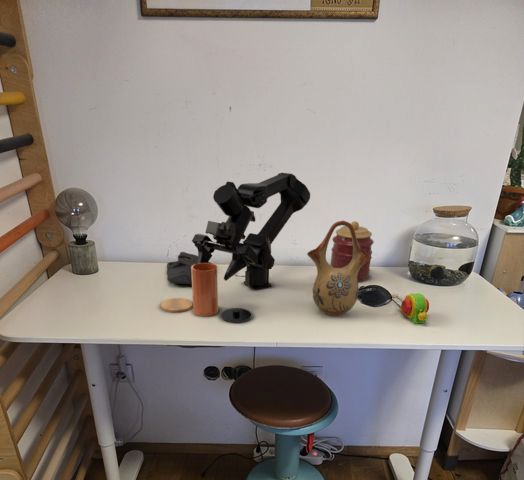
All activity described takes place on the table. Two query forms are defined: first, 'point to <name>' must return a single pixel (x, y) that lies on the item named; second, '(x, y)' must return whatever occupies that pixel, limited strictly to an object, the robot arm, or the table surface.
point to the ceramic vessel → (337, 276)
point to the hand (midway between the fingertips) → (211, 276)
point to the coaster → (176, 305)
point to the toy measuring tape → (413, 307)
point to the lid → (236, 315)
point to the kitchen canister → (351, 248)
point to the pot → (205, 289)
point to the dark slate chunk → (181, 269)
